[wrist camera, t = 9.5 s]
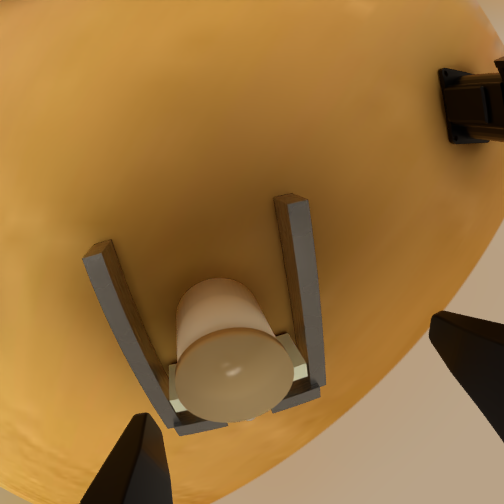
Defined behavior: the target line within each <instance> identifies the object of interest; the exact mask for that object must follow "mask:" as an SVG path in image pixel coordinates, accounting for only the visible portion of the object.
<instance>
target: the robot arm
mask: <svg viewBox="0 0 504 504" xmlns="http://www.w3.org/2000/svg"><path fill="white" fill-rule="evenodd" d="M494 63H495V65H496V68H498V71H499V73H488V74H471V73H466V72H462V71H457V70H452V69H447V68H441V69H439V76H440V81H441V86H442V91H443V97H444V103H445V109H446V116H447V124H448V133H449V140H450V142H451V143H452V144H466V143H487V142H489V141H490V140H491V141H499V142H504V57H501V58H499V59H496V60H494ZM429 339H430V340H431V343H432V344H433V346H434V347H435V349H436V350H437V352H438V353H439V355H440V356H441V358H442V359H443V361H444V362H445V364H446V366H447V367H448V368H449V370H450V372H451V373H452V374H453V376H454V377H455V378H456V379H457V381H458V382H459V383H460V385H461V386H462V387H463V388H464V390H465V391H466V392H467V393H468V395H469V396H470V397H471V399H472V400H473V401H474V403H475V404H476V405H477V406H478V408H479V409H480V410H481V412H482V413H483V414H484V416H485V417H486V418H487V420H488V421H489V423H490V424H491V425H492V426H493V428H494V429H495V431H496V432H497V434H498V435H499V436H500V438H501V439H502V441H503V442H504V324H500V323H496V322H491V321H487V320H482V319H478V318H474V317H469V316H465V315H461V314H456V313H451V312H448V311H439V312H438V313H436V314H434V315H433V316H432V318H431V323H430V330H429ZM80 503H81V504H173V500H172V490H171V480H170V474H169V468H168V463H167V458H166V453H165V447H164V442H163V436H162V432H161V430H160V428H159V426H158V425H157V424H156V422H155V421H154V419H153V418H152V417H151V415H150V414H149V413H139V414H135V415H134V416H133V417H132V419H131V421H130V422H129V424H128V425H127V427H126V428H125V430H124V432H123V433H122V435H121V436H120V438H119V440H118V441H117V443H116V444H115V446H114V448H113V449H112V451H111V452H110V454H109V456H108V457H107V459H106V460H105V462H104V464H103V465H102V467H101V469H100V470H99V472H98V473H97V475H96V477H95V478H94V480H93V481H92V483H91V485H90V486H89V488H88V490H87V491H86V493H85V495H84V496H83V498H82V499H81V501H80ZM80 503H79V504H80Z"/></svg>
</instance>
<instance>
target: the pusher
mask: <svg viewBox="0 0 504 504" xmlns="http://www.w3.org/2000/svg"><path fill="white" fill-rule="evenodd" d="M276 339H277V340H278V341H279V342H280V343H281V344H282V345H283V346H284V348H285V349H286V351H287V353H288V355H289V357H290V359H291V361H292V363H293V367H294V379H293V381H295V380H298V379H301V378H304V377H307V376H308V374H307V365H306V362H305V360H304V359H303V357H302V355H301V354H300V352H299V350H298V349H297V347H296V345H295V344H294V342H293V340H292V339H291V337H290V335H289V334H288V333H286V334H283V335H279V336H276ZM176 365H177V363H176V364H172V365H169V401H170V403H171V404H172V406H173V408H174V410H175V411H176V412H180V411H185V410H187V409H186V408H185V407H184V406H183V405H182V404H181V402H180V401H179V399H178V396H177V394H176V389H175V369H176ZM253 419H254V418H252V419H249V420H246V421H251V420H253Z"/></svg>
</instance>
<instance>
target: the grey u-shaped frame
mask: <svg viewBox="0 0 504 504" xmlns="http://www.w3.org/2000/svg"><path fill="white" fill-rule="evenodd" d="M273 198H274V204H275V209H276V215H277V221H278V227H279V233H280V239H281V245H282V251H283V257H284V263H285V269H286V276H287V282H288V289H289V295H290V302H291V308H292V315H293V322H294V329H295V336H296V343H297V349H298V350H299V352H300V354H301V355H302V357H303V359H304V360H305V362H306V365H307V374H308V376H307V377H304V378H301V379H298V380H295V381H293V383H292V385H291V388H290V390H289V391H288V393H287V395H286V396H285V397H284V398H283V400H282V401H281V402H280V403H279V404H277V405H276V406H275V407H274V408H272V409H271V411H272V413H276V412H279V411H282V410H285V409H288V408H291V407H294V406H297V405H300V404H303V403H306V402H308V401H311V400H314V399H316V398H319V397H320V387H321V386H324V385H326V374H325V357H324V342H323V328H322V316H321V305H320V294H319V284H318V274H317V265H316V256H315V248H314V240H313V232H312V224H311V217H310V209H309V202H308V199H305V198H303V197H300V196H298V195H295V194H293V193H290V194H286V195H281V196H277V197H273ZM82 260H83V263H84V265H85V268H86V271H87V273H88V276H89V278H90V281H91V283H92V286H93V288H94V291H95V293H96V296H97V298H98V300H99V303H100V305H101V307H102V309H103V312H104V314H105V316H106V318H107V320H108V323H109V325H110V327H111V329H112V331H113V333H114V335H115V337H116V339H117V341H118V343H119V345H120V347H121V349H122V351H123V353H124V355H125V357H126V359H127V361H128V363H129V365H130V367H131V368H132V370H133V372H134V374H135V376H136V377H137V379H138V381H139V383H140V385H141V386H142V388H143V390H144V391H145V393H146V395H147V396H148V398H149V400H150V401H151V403H152V405H153V406H154V408H155V410H156V411H157V413H158V414H159V416H160V417H161V419H162V421H163V422H164V424H165V425H166V427H167V428H168V429H169V428H175V430H176V432H177V433H178V435H179V436H184V435H189V434H194V433H199V432H204V431H208V430H213V429H217V428H221V427H226V426H228V423H221V422H213V421H209V420H205V419H202V418H200V417H198V416H196V415H194V414H192V413H191V412H189V411H188V410H185V411H180V412H176V411H175V410H174V408H173V406H172V404H171V403H170V401H169V379H168V377H167V375H166V373H165V371H164V369H163V367H162V365H161V363H160V361H159V359H158V357H157V354H156V352H155V350H154V348H153V346H152V344H151V341H150V339H149V337H148V335H147V332H146V330H145V328H144V325H143V323H142V321H141V318H140V316H139V313H138V311H137V309H136V306H135V304H134V301H133V299H132V296H131V293H130V291H129V288H128V286H127V283H126V280H125V278H124V275H123V272H122V269H121V267H120V264H119V261H118V258H117V255H116V252H115V249H114V246H113V243H112V240H107V241H104V242H101V243H97V244H94V245H93V246H92V247H91V249H90V250H89V251H88V252H87V253H86V255H85V256H84V257H83V258H82Z"/></svg>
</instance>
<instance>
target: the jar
mask: <svg viewBox="0 0 504 504" xmlns="http://www.w3.org/2000/svg"><path fill="white" fill-rule="evenodd" d="M176 331H177V365H176V369H175V389H176V394H177V396H178V399H179V401H180V402H181V404H182V405H183V406H184V407H185V408H186V409H187V410H188V411H189V412H191V413H192V414H194V415H196V416H198V417H200V418H202V419H205V420H209V421H213V422H221V423H231V422H240V421H245V420H249V419H252V418H255V417H257V416H260V415H262V414H264V413H266V412H268V411H269V410H271V409H272V408H274V407H275V406H276V405H277V404H279V403H280V402H281V401H282V400H283V398H284V397H285V396H286V395H287V393H288V391H289V390H290V388H291V385H292V383H293V379H294V367H293V363H292V361H291V359H290V357H289V355H288V353H287V351H286V349H285V348H284V346H283V345H282V344H281V343H280V342H279V341H278V340H277V339H276V337H275V335H274V333H273V331H272V329H271V328H270V326H269V324H268V322H267V320H266V318H265V316H264V314H263V312H262V310H261V308H260V306H259V304H258V303H257V301H256V299H255V297H254V295H253V294H252V292H251V291H250V290H249V289H248V288H247V287H246V286H244V285H243V284H241V283H239V282H237V281H235V280H231V279H226V278H212V279H207V280H204V281H201V282H199V283H197V284H196V285H194V286H192V287H191V288H190V289H189V290H188V291H187V292H186V293H185V294H184V295H183V296H182V298H181V300H180V302H179V304H178V307H177V312H176Z"/></svg>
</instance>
